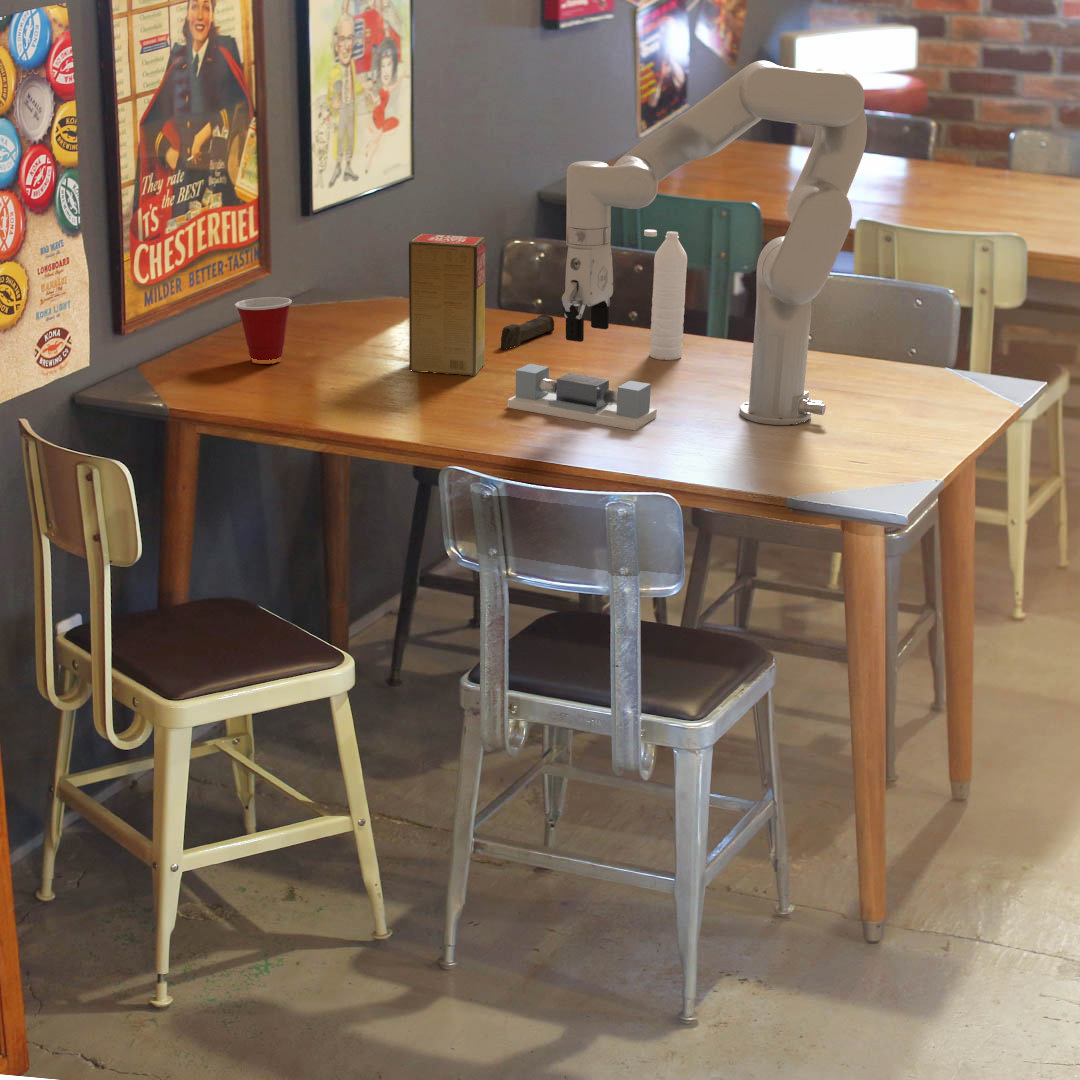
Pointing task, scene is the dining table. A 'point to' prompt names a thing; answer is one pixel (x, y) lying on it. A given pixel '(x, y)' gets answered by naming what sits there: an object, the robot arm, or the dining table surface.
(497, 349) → the dining table surface
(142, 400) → the dining table surface
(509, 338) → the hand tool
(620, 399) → the shaft stand
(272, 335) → the plastic cup
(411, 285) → the food packaging
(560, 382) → the block
